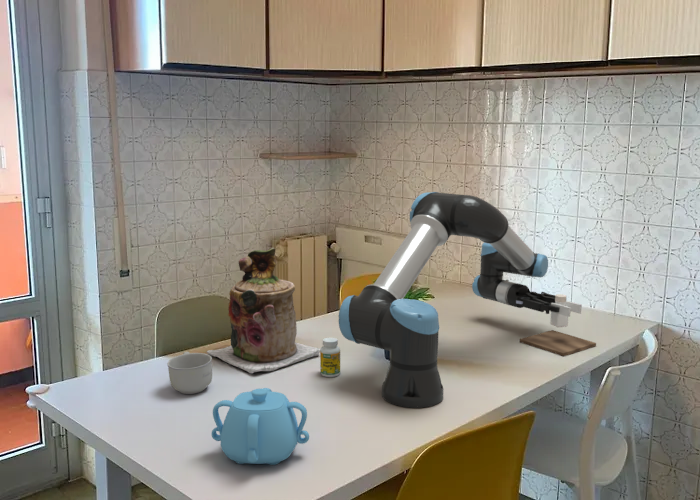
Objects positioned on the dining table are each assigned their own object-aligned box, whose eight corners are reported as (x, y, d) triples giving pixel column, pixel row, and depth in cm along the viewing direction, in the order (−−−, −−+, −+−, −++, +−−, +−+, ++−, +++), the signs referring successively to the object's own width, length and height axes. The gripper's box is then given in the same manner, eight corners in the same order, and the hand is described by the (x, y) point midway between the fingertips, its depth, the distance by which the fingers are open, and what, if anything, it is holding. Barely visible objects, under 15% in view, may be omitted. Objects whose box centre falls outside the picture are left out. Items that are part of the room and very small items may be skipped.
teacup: (212, 396, 167) (211, 365, 166) (166, 399, 166) (165, 368, 164) (213, 376, 181) (212, 347, 179) (171, 378, 179) (170, 349, 178)
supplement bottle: (340, 370, 186) (340, 336, 184) (340, 377, 180) (340, 342, 179) (320, 370, 185) (320, 336, 184) (320, 377, 180) (320, 343, 178)
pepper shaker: (557, 328, 205) (559, 297, 204) (549, 324, 209) (551, 294, 207) (568, 326, 207) (570, 296, 205) (560, 323, 210) (562, 293, 209)
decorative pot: (276, 429, 150) (275, 370, 148) (315, 458, 137) (315, 394, 135) (207, 449, 141) (205, 386, 139) (242, 482, 128) (240, 413, 126)
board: (563, 356, 198) (563, 353, 198) (519, 342, 210) (519, 338, 210) (596, 346, 207) (596, 342, 207) (552, 332, 220) (552, 329, 220)
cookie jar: (270, 337, 214) (269, 236, 208) (324, 356, 197) (324, 247, 191) (203, 355, 197) (199, 246, 191) (256, 378, 180) (253, 259, 174)
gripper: (495, 287, 215) (557, 303, 197) (531, 279, 225) (593, 293, 207) (494, 309, 216) (555, 328, 198) (530, 301, 227) (592, 317, 208)
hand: (575, 310), depth 203 cm, fingers closed on pepper shaker, 5 cm apart
